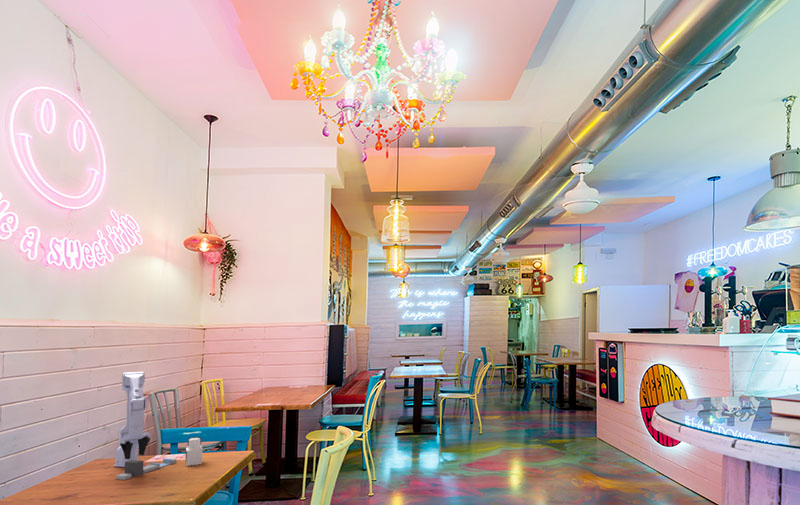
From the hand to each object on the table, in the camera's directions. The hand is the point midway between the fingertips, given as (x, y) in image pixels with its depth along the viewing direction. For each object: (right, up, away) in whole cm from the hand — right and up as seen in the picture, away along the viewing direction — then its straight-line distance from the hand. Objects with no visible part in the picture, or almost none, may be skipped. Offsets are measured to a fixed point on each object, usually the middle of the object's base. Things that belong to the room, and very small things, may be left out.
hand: (134, 456), depth 224 cm
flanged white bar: (+3, -9, +6) cm, 11 cm away
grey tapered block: (0, -8, -1) cm, 8 cm away
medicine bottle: (+20, -10, +16) cm, 28 cm away
